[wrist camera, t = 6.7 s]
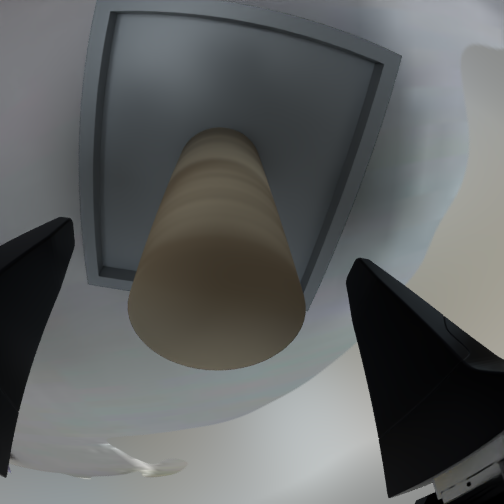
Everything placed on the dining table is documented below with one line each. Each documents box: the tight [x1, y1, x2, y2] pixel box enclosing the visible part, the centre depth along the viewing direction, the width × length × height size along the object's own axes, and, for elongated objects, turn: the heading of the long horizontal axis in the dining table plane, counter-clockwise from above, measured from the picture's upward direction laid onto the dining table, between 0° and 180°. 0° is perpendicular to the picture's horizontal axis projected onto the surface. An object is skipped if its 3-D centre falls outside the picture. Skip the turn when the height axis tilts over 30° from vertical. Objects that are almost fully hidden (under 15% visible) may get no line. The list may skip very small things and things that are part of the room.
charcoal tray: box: [79, 0, 402, 311], centre depth 15 cm, size 16×14×2 cm
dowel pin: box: [128, 127, 306, 370], centre depth 11 cm, size 4×4×10 cm
